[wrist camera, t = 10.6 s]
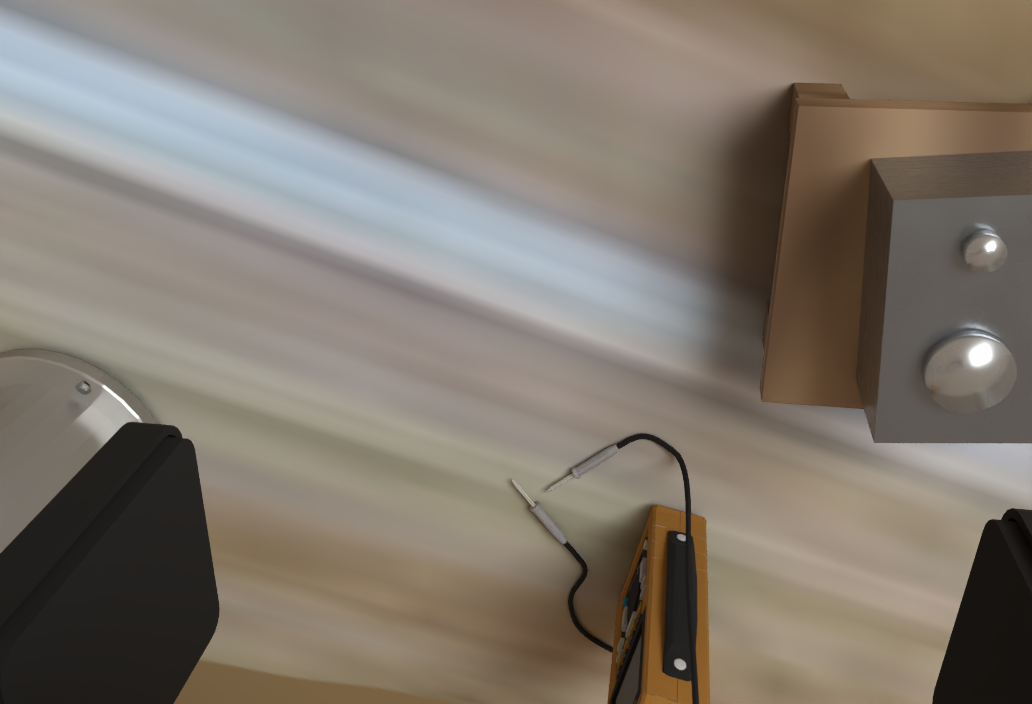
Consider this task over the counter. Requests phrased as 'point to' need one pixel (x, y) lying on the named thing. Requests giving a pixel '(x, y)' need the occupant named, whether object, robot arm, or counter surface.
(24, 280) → the counter surface
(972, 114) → the stand
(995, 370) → the housing
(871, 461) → the counter surface
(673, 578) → the multimeter
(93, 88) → the counter surface
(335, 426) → the counter surface
